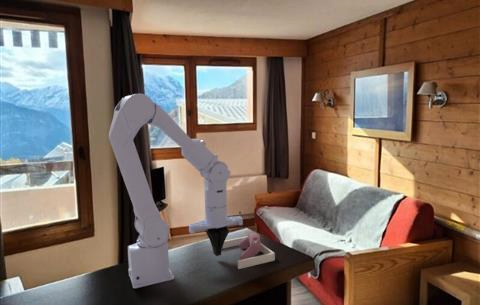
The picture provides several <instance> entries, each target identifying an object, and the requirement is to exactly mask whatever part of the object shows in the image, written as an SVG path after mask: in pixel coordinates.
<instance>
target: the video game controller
mask: <svg viewBox="0 0 480 305" xmlns="http://www.w3.org/2000/svg"><path fill="white" fill-rule="evenodd" d="M247 236H248V237H246V238H245V239H244V240H242V241H241V242H240V244H239V245H238V247H239V249H241V250H245V249H246V250H245V251H243V252H242V253H241V255H240V256H239V260H243V259H247V258H251V257H256V256H258V254H259V253H261V248H260V247H261V243H262V242H261V236H260V234H259V233H257V232H253V231H252V232H251V233H249V234H248V235H247Z"/></svg>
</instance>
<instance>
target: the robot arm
mask: <svg viewBox="0 0 480 305" xmlns="http://www.w3.org/2000/svg"><path fill="white" fill-rule="evenodd" d="M112 116H113V118H112V121H111V124H110V128H109V132H108V140H109V143H110V146H111V148H112V151H113V154H114V157H115V160H116V162H117V165H118V167H119V171H120V173H121V176H122V178H123V182H124V184H125V187H126V189H127V193H128V196H129V198H130V200H131V203H132V207H133V213H134V216H135V217H134V228H135V230H136V232H137V233H138V234H139V235H138V236H137V239H136V243H133V244H130V245H127V258H128V259H127V261H128V276H129V277H130V278H129V279H130V281H131V285H132V288H133V289H139V288H143V287H147V286H151V285H157V284H161V283H164V282H168V281H173V280H174V279H175V276H174V275H173V272H172V271H171V269H170V262H169V260H170V259H169V242H168V239H169V237H170V234H171V233H170V232H171V230H170V229H171V228H170V227H169V224H168V223H167V222H166V221H165V220H164V219H163V218H162V215H161V213H160V211H159V208H158V207H157V205H156V203H155V200H154V198H153V194H152V191H151V188H150V185H149V183H148V180H147V177H146V174H145V172H144V169H143V166H142V162H141V159H140V157H139V153H138V150H137V147H136V145H135V142H134V139H135V137H136V136H137V134H138V132H139V131H140V129H141V128H142V127H143V126H144V125H145V124H147V125H151V126H153V127H157V128H158V129H159V130H161V131H162V133H164V134H165V135H167V137H169V138H170V139H171V140H172V141H173V142H174V143H176V145H178V146H179V147H180V148H181V156H182V157H183V158H184V159H185V160H186V161H187V162H188V163H189V164H191V166H192V167H194V168H195V169H196V170H197V171H198V172H199V173H200V174H199V175H200V176H201V177H202V178H204V180H203V181H204V182H203V183H204V211H205V212H204V214H205V215H204V216H205V219H204V220H201V221H197V222H195V223H190V224H188V232H189V233H190V234H191V235H193V234H196V233H198V232H204V231H205V234H206V235H207V237H208V239H209V241H210V245H211V248H212V252H213V255H214V256H215V257H218V256H222V250H223V249H222V247H223V244H224V241H225V240H227V239H226V238H227V237H228V235H229V234H230V233H229V232H230V231H229V228H228V227H232V226H243V225H244V223H243V222H244V221H243V217H242V216H241V215H238V216H228V206H227V204H228V203H227V202H228V199H227V182H228V180H229V178H230V176H231V171H230V170H229V166H228V165H227V164H226V163H225V162H224V161H220V160H219V159H218V158H219V155H218V154H217V153H213V152H212V151H211V150H210V149H209V148H208V147H207V146H206V145H207V142H205V141H204V140H203V139H199V138H191V137H190V136H189V135H188V134H187V133H186V132H185V131H184V130H183V128H181V127H180V126H179V124H178V123H177V122H176V121H175V120H174V119H173V118H172V117H171V116H170V115H169V113H167V112H166V111H165V110H164V109H163V107H162V106H160V105H159V104H158V103H157V102H154V101H153V99H152V98H151V97H150V96H148V95H146V94H144V93H134V94H130V95H129V94H128V95H126V96H124V97H122V98H121V100H120V101H119V102H118V103H117V105H116V106H115V108H114V112H113V115H112Z"/></svg>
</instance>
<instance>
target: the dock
mask: <svg viewBox="0 0 480 305" xmlns="http://www.w3.org/2000/svg"><path fill="white" fill-rule="evenodd" d="M246 237H248V235H245V236H242V237H236V238H230V239H225V241H224V244H223V247H222V250H223V249H226V248H227V249H228V248H230V247H231V248H233V247H236V246H239V244H240V242H241V241H242V240H244V239H245V238H246ZM260 243H261V247H260V248H261V251H260V253H262V254H260V255H255V256H254V257H251V258H247V259H243V260H240V259H238V260H237V269H238V270H240V269H245V268H248V267H253V266H256V265H261V264H266V263H269V262H270V263H271V262H274V261H275V260H276V253H275V252H274V251H272V250H271V249H270V248H268V247H267V246H266V245H264V244H263V243H262V242H260Z"/></svg>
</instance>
